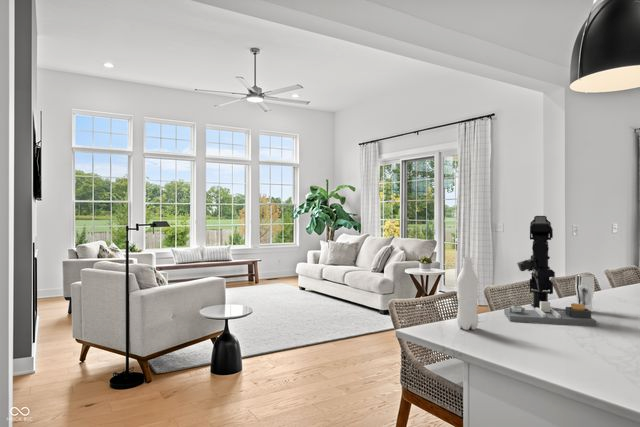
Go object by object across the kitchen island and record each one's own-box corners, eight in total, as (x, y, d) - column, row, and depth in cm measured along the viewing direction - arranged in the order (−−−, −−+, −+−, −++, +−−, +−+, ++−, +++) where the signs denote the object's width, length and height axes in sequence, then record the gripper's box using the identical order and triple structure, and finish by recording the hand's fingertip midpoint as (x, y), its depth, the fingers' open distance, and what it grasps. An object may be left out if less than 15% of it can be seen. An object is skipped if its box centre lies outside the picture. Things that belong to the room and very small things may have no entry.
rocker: (511, 308, 172) (511, 306, 173) (519, 309, 172) (519, 306, 172) (513, 308, 168) (513, 305, 168) (522, 309, 167) (522, 306, 167)
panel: (504, 313, 177) (504, 302, 177) (583, 317, 170) (583, 306, 170) (510, 321, 164) (510, 309, 164) (596, 326, 157) (596, 313, 157)
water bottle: (479, 331, 150) (479, 259, 150) (458, 330, 151) (457, 258, 151) (476, 326, 157) (476, 256, 157) (455, 325, 158) (455, 256, 158)
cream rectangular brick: (539, 310, 172) (539, 301, 172) (548, 310, 172) (548, 301, 172) (541, 311, 170) (541, 302, 170) (550, 312, 169) (550, 302, 169)
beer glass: (589, 309, 185) (589, 274, 185) (597, 312, 178) (597, 276, 178) (571, 308, 186) (571, 273, 186) (580, 312, 179) (580, 276, 179)
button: (569, 309, 167) (569, 303, 167) (582, 310, 166) (582, 303, 166) (573, 311, 163) (573, 305, 163) (586, 312, 162) (586, 306, 162)
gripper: (514, 251, 189) (514, 286, 189) (523, 255, 171) (523, 295, 171) (542, 251, 186) (542, 287, 186) (555, 255, 168) (555, 296, 168)
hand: (540, 291), depth 178 cm, fingers closed
